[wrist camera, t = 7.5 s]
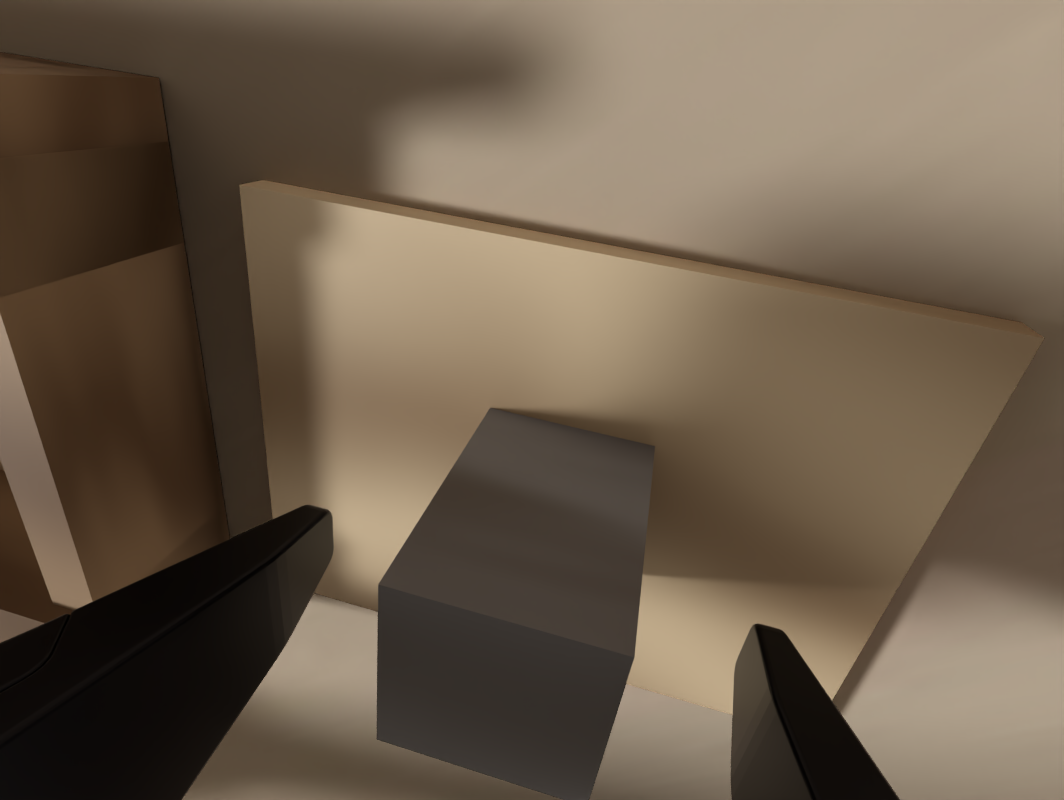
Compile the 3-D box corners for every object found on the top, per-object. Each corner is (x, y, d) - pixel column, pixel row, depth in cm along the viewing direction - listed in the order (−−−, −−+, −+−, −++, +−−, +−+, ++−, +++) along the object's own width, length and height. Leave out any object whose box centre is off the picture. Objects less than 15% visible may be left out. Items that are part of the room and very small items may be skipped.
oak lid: (801, 688, 14) (863, 1023, 9) (306, 550, 15) (126, 764, 11) (1005, 310, 9) (1358, 557, 4) (281, 175, 11) (-48, 243, 6)
